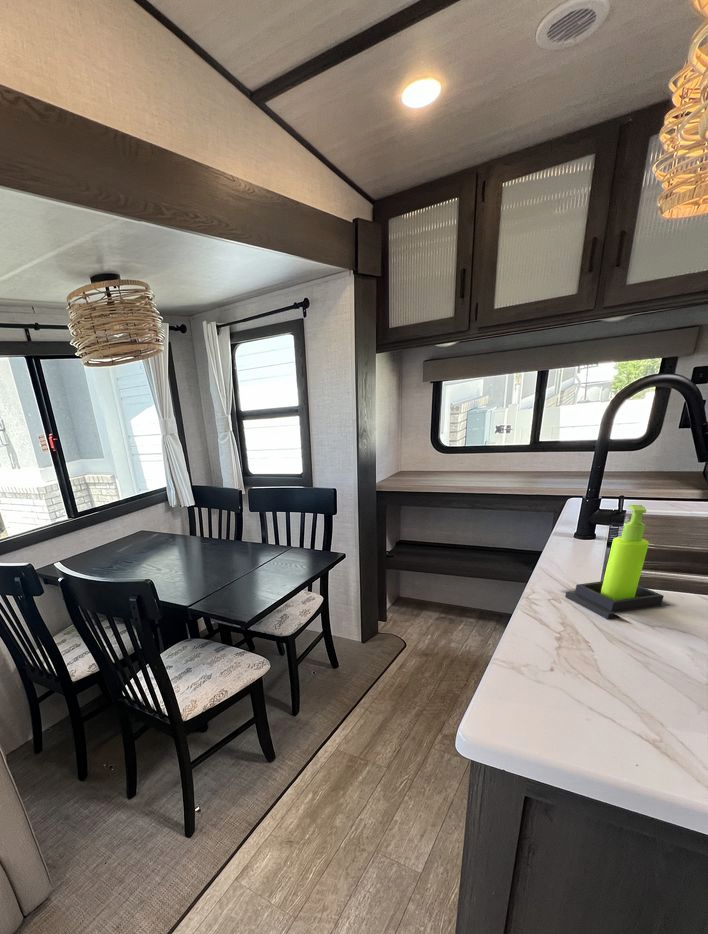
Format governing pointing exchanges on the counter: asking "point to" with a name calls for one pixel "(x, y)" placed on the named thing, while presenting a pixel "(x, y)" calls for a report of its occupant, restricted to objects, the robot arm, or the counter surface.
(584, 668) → the counter surface
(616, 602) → the black square tray
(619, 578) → the soap dispenser
